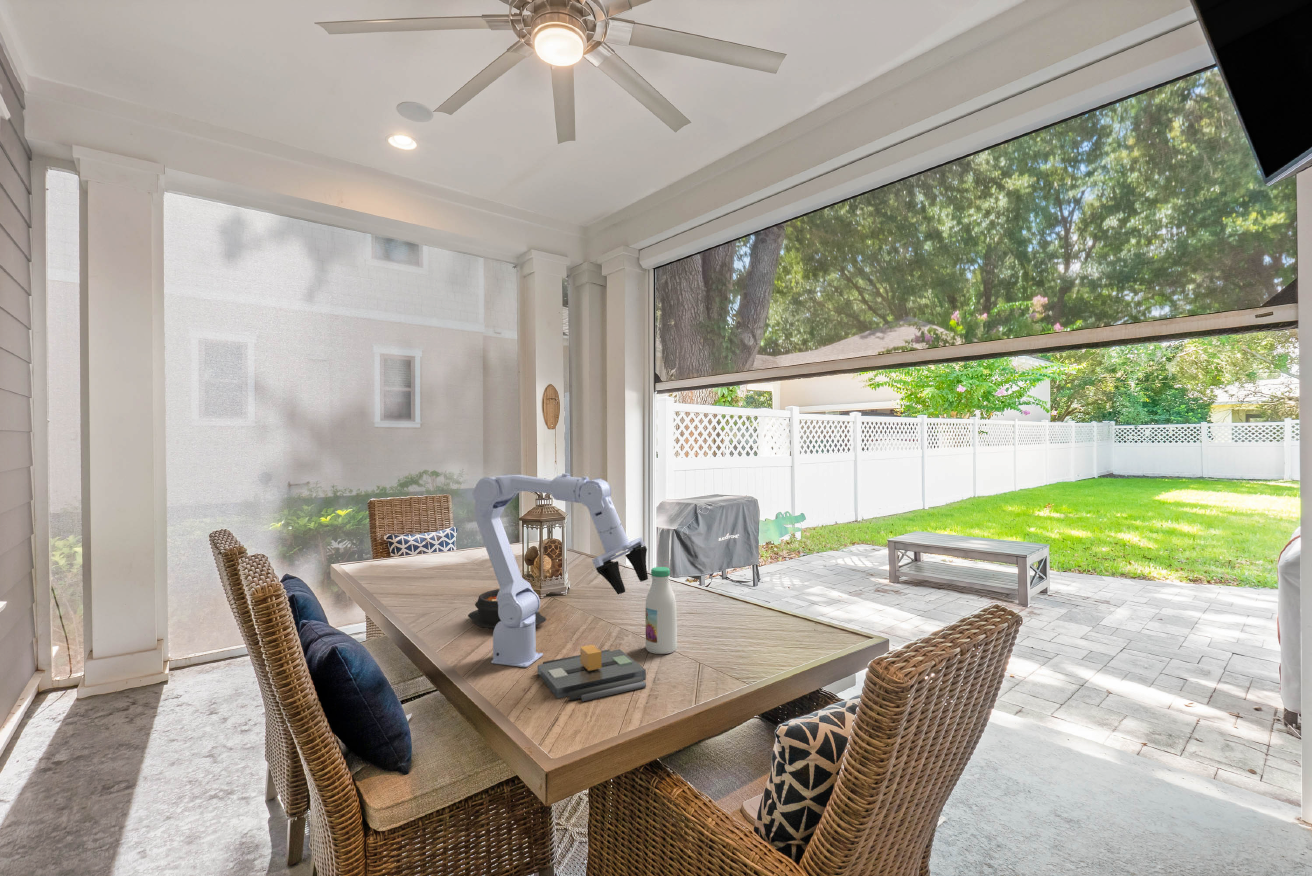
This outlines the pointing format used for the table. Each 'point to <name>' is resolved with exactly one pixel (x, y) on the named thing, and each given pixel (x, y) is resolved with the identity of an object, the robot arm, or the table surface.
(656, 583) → the milk bottle
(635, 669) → the grey flat slab
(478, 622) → the casserole
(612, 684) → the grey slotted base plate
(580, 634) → the table surface
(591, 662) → the lever
